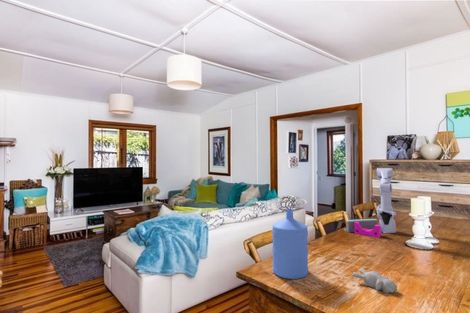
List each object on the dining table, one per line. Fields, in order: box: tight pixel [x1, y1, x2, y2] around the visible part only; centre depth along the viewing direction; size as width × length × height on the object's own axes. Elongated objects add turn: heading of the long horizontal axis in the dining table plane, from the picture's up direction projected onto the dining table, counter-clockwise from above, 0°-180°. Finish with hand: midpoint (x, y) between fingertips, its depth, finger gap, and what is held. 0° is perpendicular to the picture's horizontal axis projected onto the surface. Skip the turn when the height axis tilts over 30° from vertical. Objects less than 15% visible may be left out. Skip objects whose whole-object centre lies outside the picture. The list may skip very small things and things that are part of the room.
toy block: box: [354, 222, 382, 239], centre depth 178 cm, size 15×6×8 cm, turn 51°
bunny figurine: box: [352, 268, 398, 294], centre depth 107 cm, size 10×5×15 cm
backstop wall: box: [343, 218, 379, 233], centre depth 188 cm, size 22×6×8 cm, turn 100°
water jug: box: [271, 208, 309, 280], centre depth 120 cm, size 16×16×28 cm
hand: (386, 224), depth 167 cm, fingers closed
